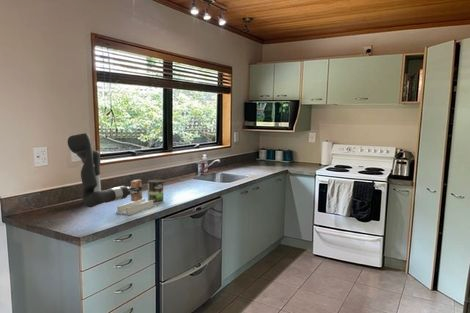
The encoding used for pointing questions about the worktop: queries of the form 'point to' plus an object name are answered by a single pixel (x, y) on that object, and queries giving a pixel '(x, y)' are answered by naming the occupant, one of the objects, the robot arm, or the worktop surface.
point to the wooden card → (139, 195)
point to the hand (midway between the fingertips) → (139, 188)
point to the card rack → (134, 207)
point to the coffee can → (155, 190)
